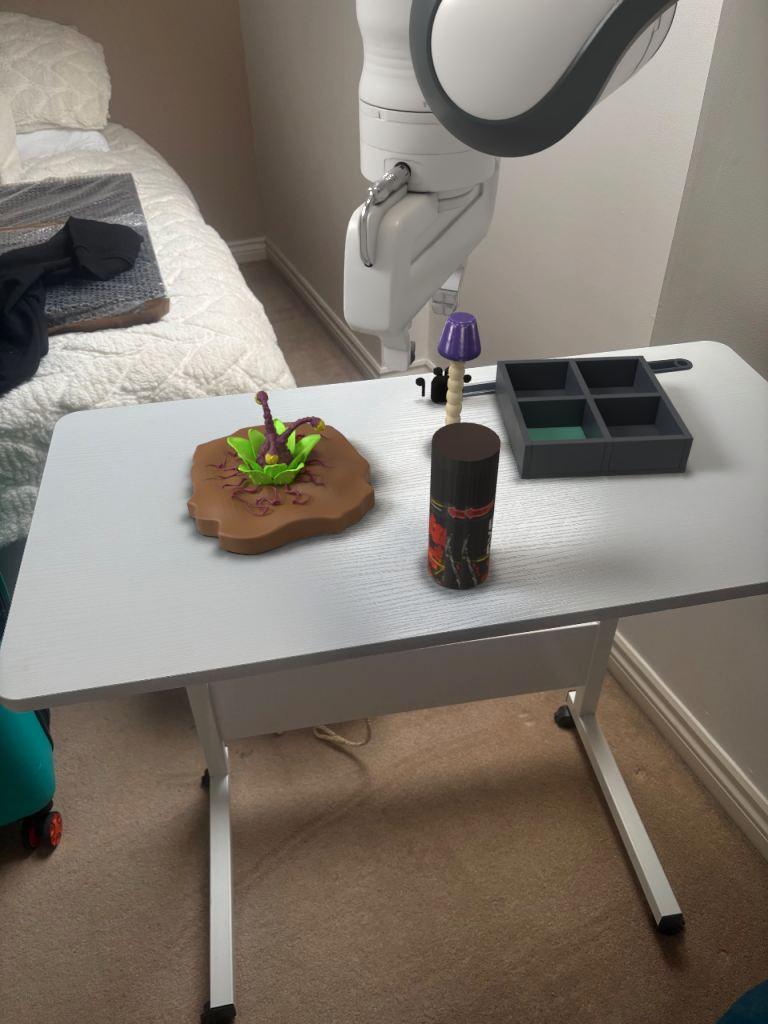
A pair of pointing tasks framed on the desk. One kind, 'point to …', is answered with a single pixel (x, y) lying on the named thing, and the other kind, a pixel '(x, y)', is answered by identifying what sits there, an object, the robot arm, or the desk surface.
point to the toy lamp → (458, 357)
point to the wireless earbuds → (439, 384)
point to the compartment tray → (589, 418)
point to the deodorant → (462, 503)
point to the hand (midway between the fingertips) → (423, 337)
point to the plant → (278, 484)
